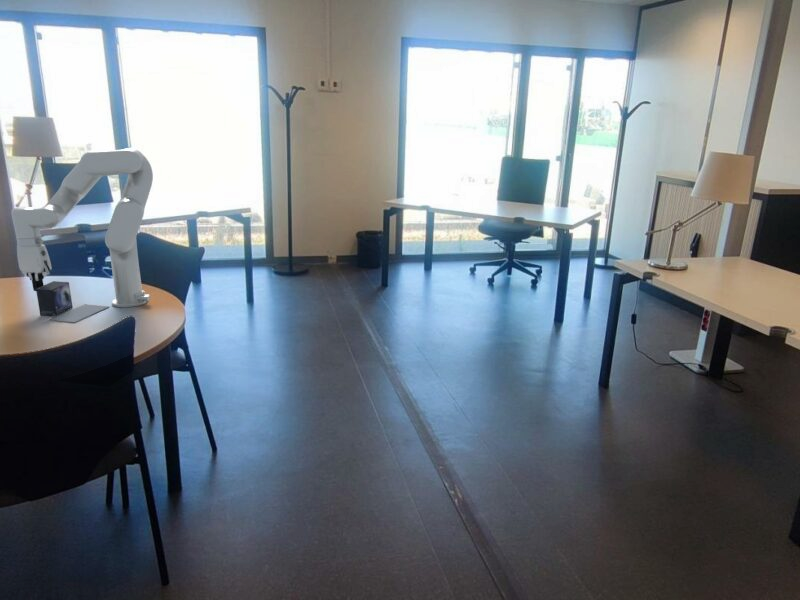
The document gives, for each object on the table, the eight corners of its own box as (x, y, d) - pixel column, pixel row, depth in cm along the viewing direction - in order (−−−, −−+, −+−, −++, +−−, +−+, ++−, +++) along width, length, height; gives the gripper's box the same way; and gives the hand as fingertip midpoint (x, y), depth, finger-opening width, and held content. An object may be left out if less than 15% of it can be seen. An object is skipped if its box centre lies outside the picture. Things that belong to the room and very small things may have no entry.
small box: (57, 316, 200) (52, 289, 197) (39, 316, 200) (34, 288, 197) (74, 307, 210) (69, 281, 207) (57, 307, 210) (52, 280, 207)
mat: (109, 307, 211) (109, 306, 211) (74, 323, 194) (74, 322, 194) (85, 305, 213) (85, 304, 213) (48, 320, 196) (48, 319, 196)
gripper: (55, 240, 200) (64, 288, 206) (20, 238, 203) (30, 285, 209) (39, 245, 193) (48, 294, 199) (3, 242, 196) (13, 291, 202)
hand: (39, 289), depth 204 cm, fingers closed
